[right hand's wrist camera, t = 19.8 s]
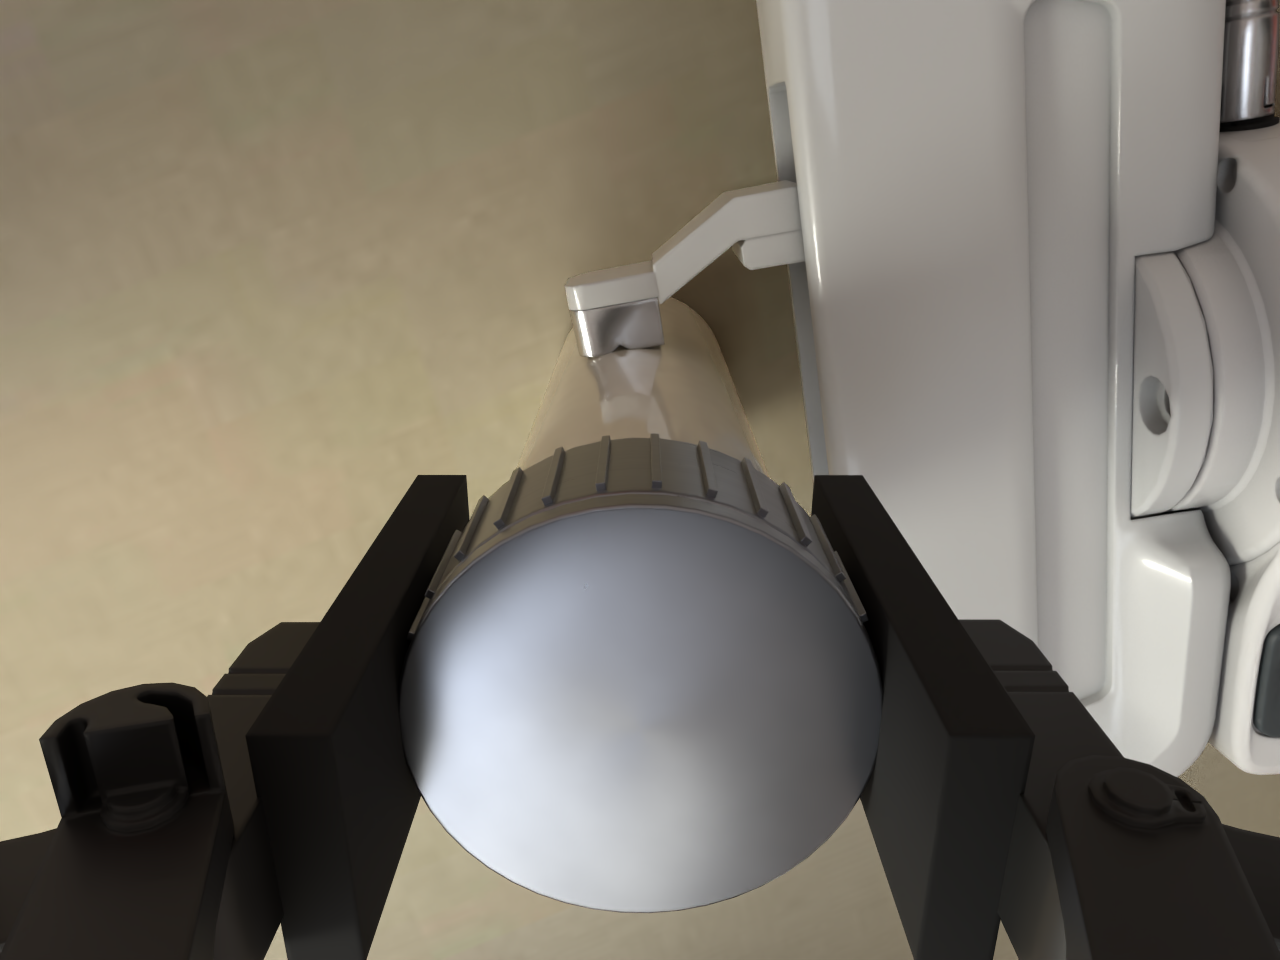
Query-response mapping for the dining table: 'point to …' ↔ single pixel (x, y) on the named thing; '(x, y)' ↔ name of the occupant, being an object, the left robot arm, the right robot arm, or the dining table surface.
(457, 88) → the dining table surface
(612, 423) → the bottle
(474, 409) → the dining table surface
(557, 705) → the lid
